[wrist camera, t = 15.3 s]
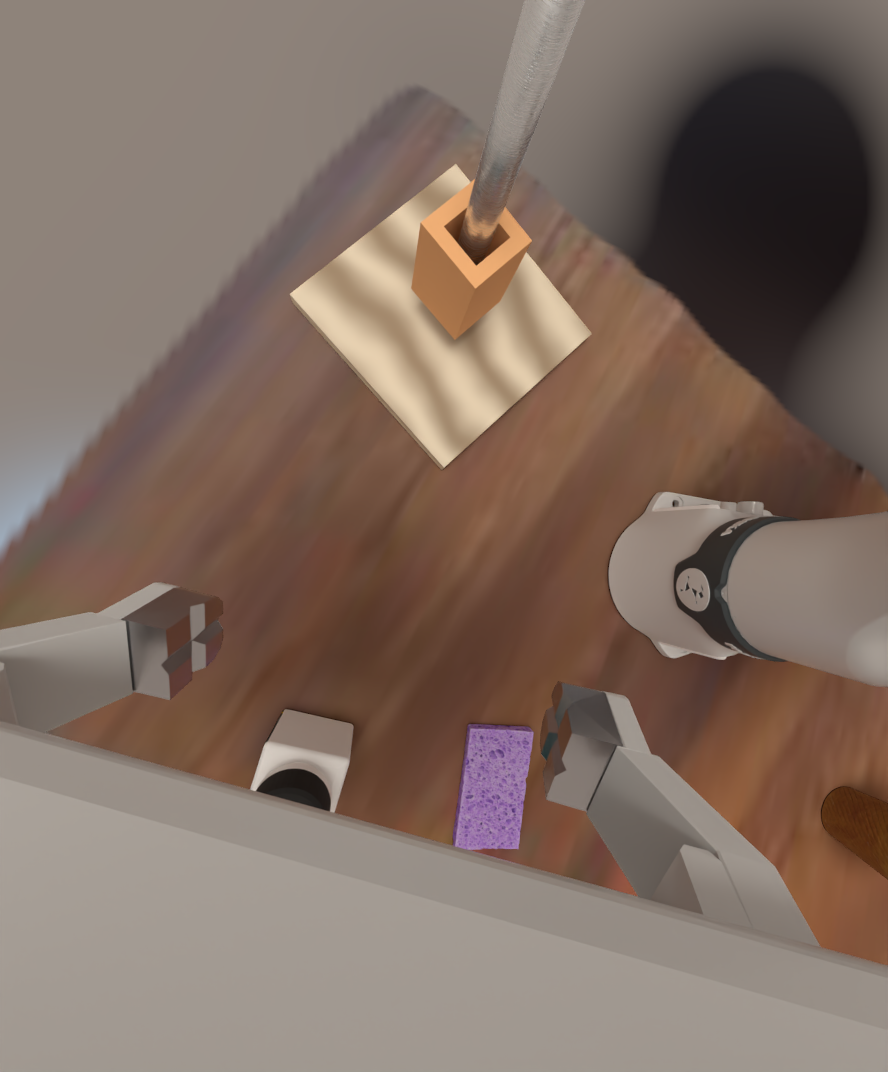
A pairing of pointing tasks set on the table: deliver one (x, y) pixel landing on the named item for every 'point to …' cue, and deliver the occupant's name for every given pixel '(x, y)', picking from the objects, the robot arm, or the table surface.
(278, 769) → the medicine bottle
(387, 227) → the pipe stand
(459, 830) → the sponges
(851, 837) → the disposable coffee cup
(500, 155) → the steel pipe
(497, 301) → the sleeve
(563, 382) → the table surface
